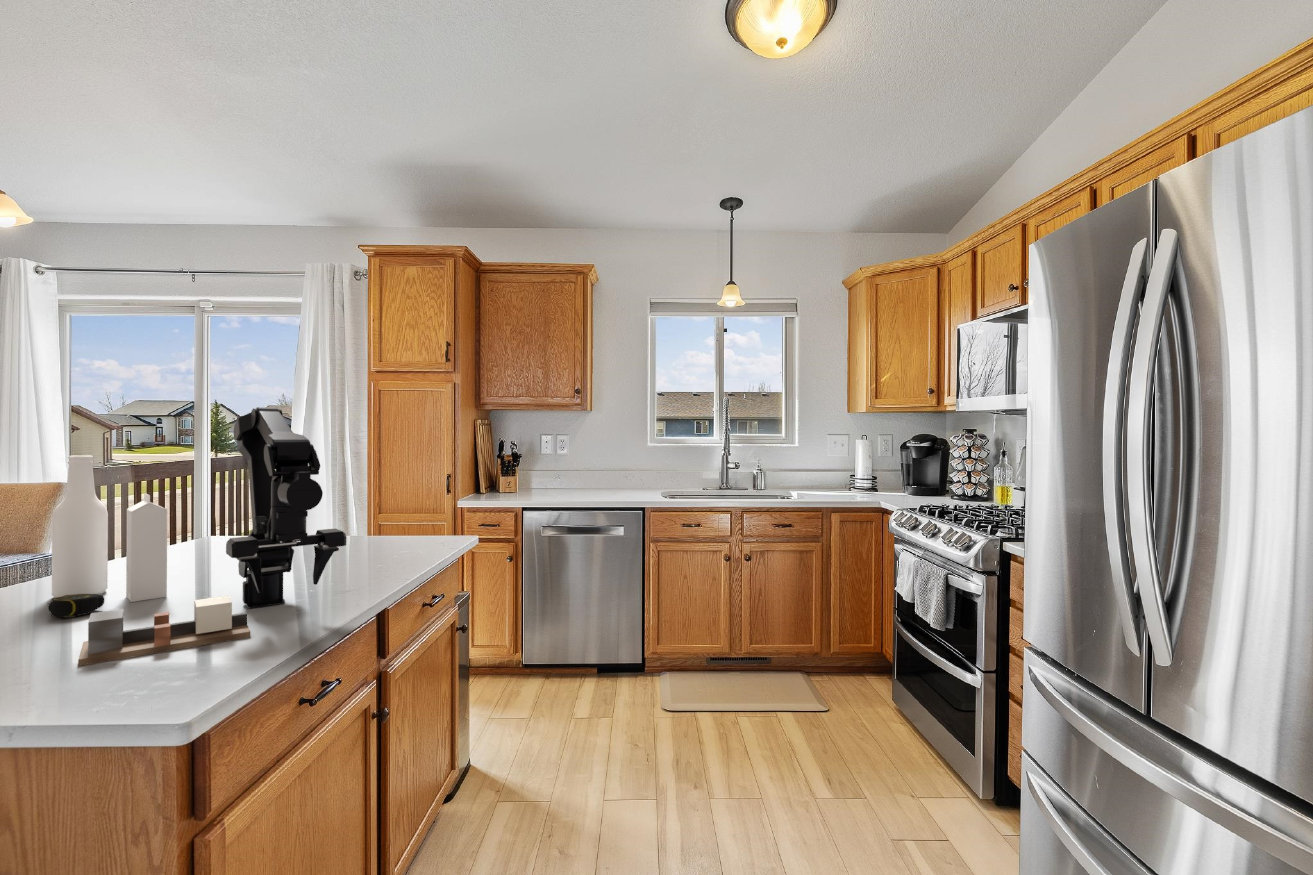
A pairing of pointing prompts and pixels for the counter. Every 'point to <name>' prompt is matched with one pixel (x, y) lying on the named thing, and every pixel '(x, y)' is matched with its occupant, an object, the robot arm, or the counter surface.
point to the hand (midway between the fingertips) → (288, 588)
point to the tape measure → (75, 605)
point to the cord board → (148, 636)
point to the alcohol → (80, 535)
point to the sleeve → (213, 614)
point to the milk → (146, 551)
